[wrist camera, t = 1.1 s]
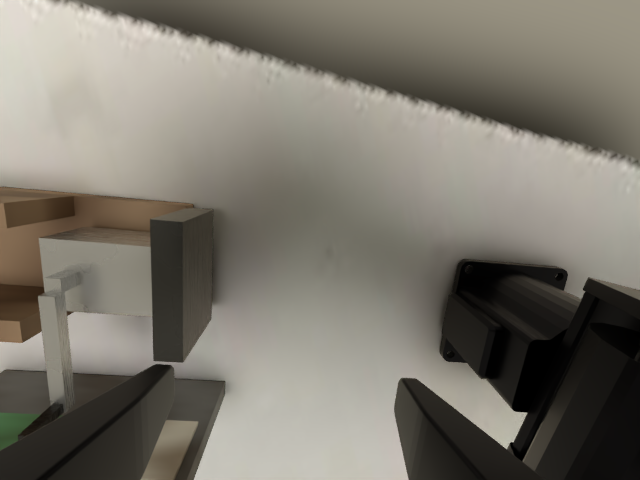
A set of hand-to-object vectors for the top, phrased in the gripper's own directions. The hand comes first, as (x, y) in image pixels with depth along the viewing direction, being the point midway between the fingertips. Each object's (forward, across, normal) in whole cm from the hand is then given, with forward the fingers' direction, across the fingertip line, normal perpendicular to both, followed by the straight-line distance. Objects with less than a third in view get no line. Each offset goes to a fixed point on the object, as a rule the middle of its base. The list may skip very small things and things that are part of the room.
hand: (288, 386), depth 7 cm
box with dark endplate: (+9, +8, +1) cm, 12 cm away
